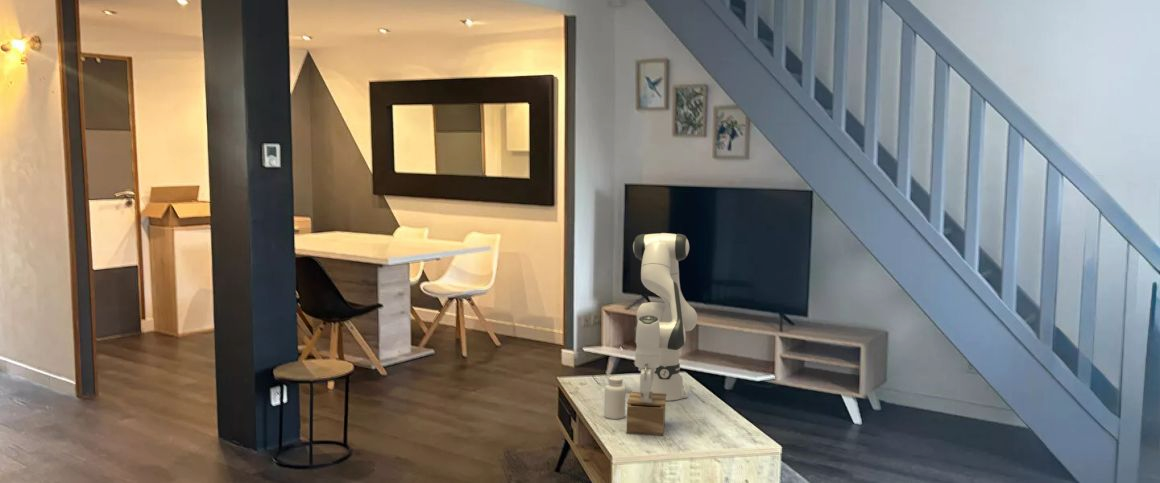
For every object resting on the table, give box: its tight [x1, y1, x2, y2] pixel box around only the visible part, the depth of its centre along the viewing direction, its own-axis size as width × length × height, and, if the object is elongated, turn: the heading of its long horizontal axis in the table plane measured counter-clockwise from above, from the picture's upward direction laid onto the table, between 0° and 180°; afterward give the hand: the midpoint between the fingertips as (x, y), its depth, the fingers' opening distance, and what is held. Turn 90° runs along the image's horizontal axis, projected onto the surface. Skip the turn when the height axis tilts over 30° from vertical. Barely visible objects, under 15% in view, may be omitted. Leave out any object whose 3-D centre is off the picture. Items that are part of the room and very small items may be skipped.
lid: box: [627, 391, 666, 407], centre depth 335 cm, size 14×13×4 cm
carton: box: [626, 404, 666, 437], centre depth 334 cm, size 14×13×10 cm
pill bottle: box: [603, 376, 626, 420], centre depth 348 cm, size 8×8×15 cm
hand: (646, 398), depth 331 cm, fingers closed on lid, 2 cm apart
